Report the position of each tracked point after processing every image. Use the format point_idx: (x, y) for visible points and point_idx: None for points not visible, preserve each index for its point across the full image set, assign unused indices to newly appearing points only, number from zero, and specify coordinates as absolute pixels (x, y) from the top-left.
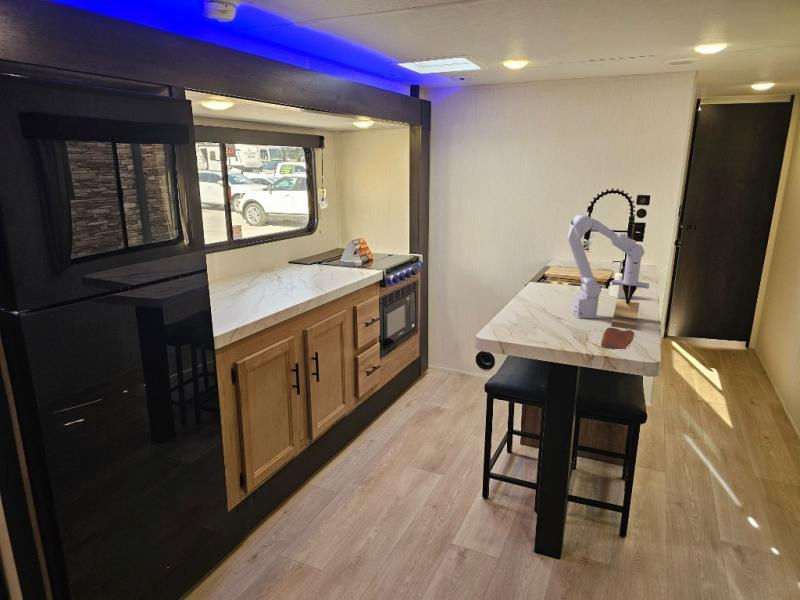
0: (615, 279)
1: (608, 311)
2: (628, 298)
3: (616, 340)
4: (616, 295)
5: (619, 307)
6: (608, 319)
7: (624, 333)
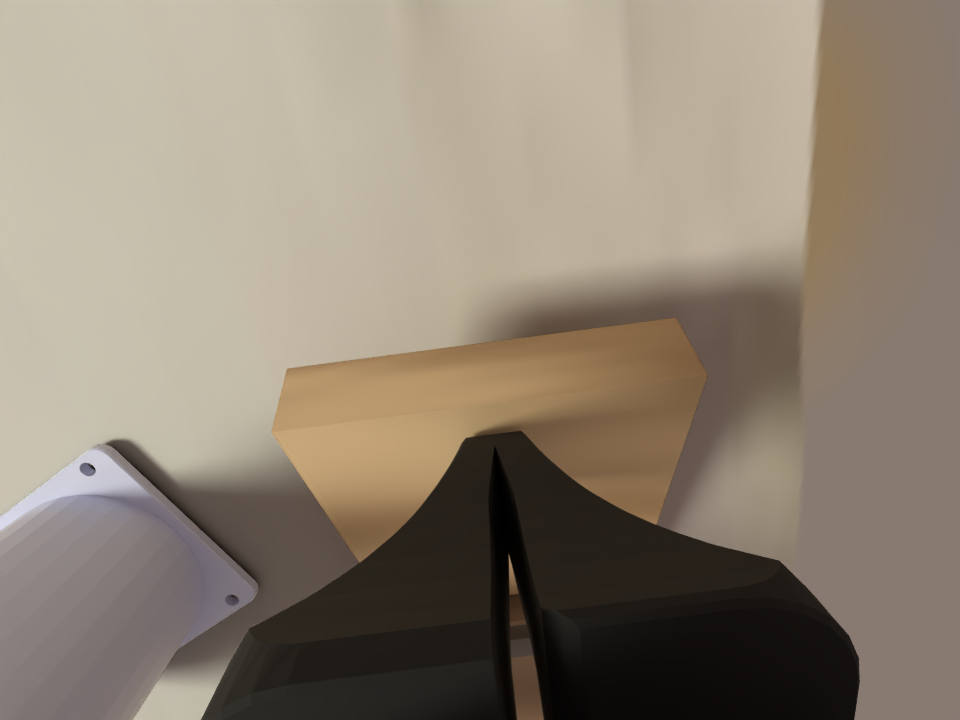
0: None
1: (208, 185)
2: (522, 608)
3: None
4: None
5: (396, 522)
6: (343, 556)
7: None
